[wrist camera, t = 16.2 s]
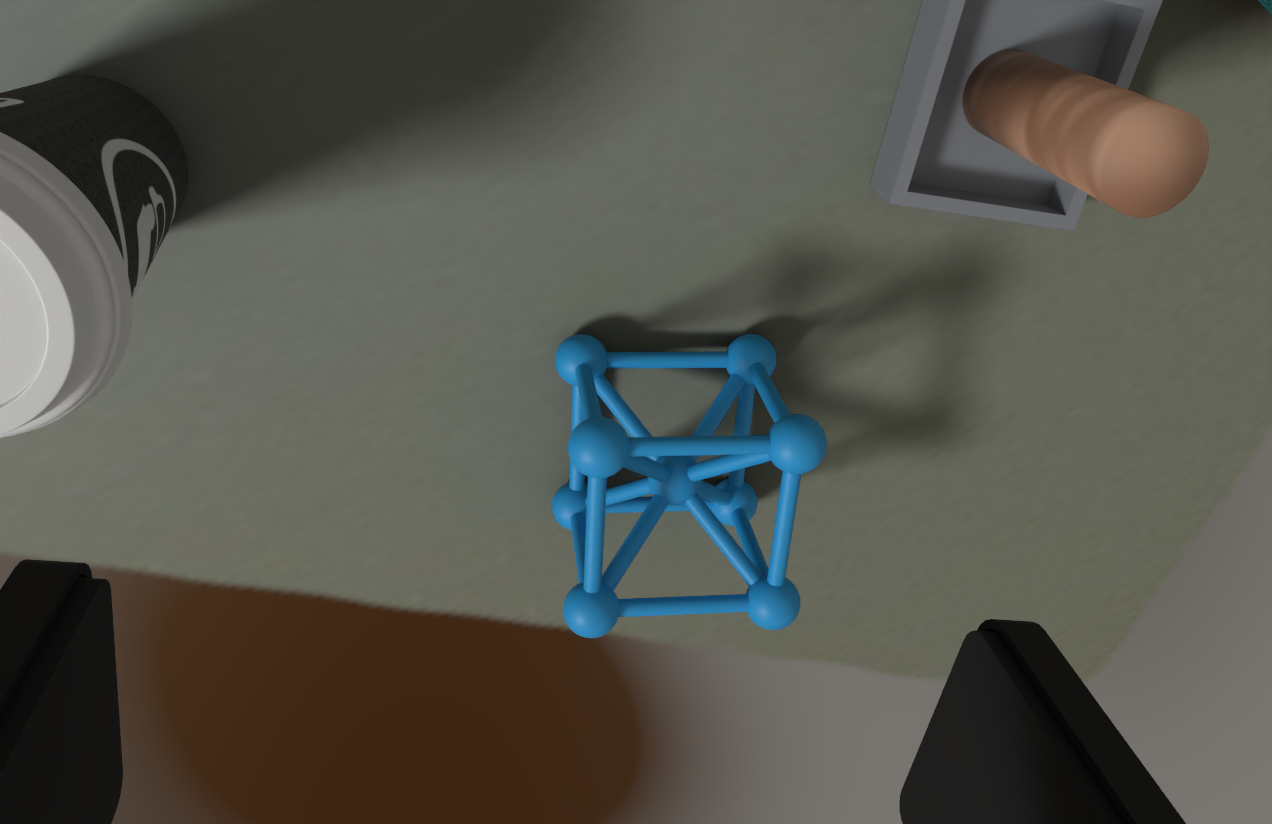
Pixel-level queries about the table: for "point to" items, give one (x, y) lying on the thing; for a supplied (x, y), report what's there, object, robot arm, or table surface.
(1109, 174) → the dowel
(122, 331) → the coffee cup
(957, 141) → the tray
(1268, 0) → the puzzle game
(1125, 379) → the table surface
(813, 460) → the molecular structure
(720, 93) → the table surface
